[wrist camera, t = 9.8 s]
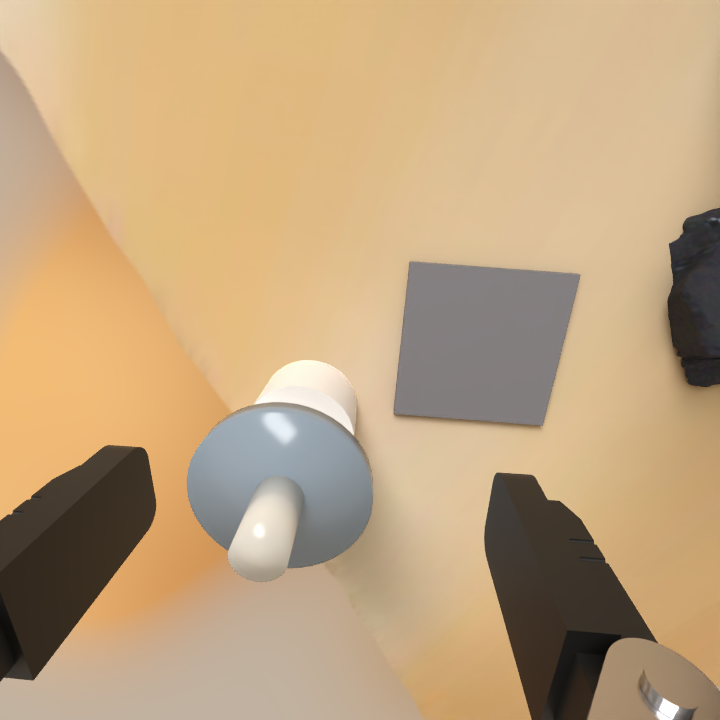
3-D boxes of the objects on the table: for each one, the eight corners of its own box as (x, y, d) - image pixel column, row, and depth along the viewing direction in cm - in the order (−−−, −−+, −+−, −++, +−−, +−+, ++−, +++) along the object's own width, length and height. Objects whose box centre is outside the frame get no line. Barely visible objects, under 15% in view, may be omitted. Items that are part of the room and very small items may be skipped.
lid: (380, 409, 25) (381, 471, 19) (366, 557, 29) (363, 647, 23) (190, 394, 25) (131, 451, 19) (202, 544, 29) (156, 630, 23)
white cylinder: (251, 424, 39) (201, 506, 28) (282, 344, 37) (241, 401, 25) (335, 457, 40) (319, 551, 29) (372, 383, 38) (371, 454, 26)
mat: (577, 273, 34) (580, 274, 33) (540, 422, 38) (542, 425, 38) (409, 261, 34) (410, 262, 33) (393, 411, 38) (393, 413, 38)
